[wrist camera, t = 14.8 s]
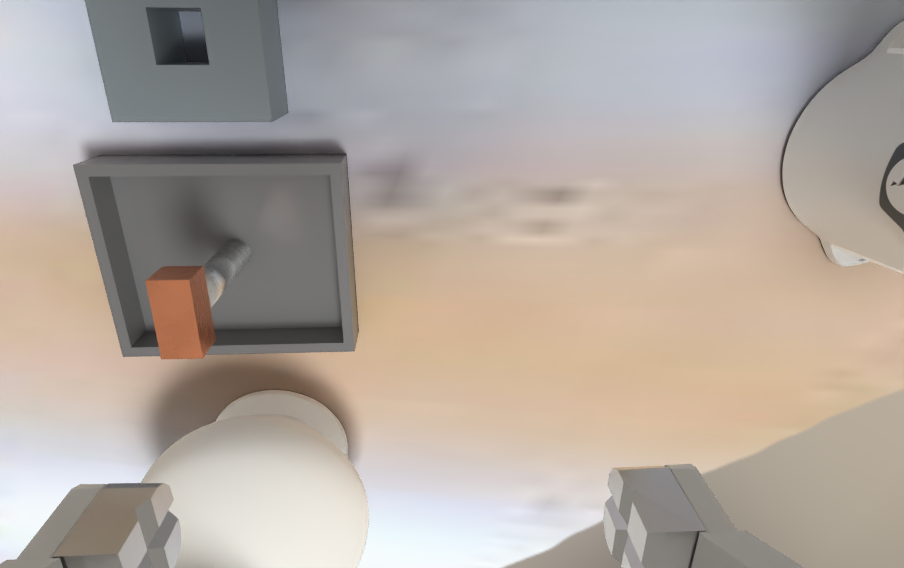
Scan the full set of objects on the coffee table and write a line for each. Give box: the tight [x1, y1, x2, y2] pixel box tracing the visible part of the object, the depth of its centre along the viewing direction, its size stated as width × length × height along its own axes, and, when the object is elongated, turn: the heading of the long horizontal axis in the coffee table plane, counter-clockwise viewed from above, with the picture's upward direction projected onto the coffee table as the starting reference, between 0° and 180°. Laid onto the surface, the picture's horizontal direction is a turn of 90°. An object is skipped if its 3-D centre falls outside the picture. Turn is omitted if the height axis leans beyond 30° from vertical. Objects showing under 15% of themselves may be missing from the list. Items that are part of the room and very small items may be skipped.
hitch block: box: [85, 0, 288, 122], centre depth 37 cm, size 10×10×5 cm
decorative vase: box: [141, 390, 369, 568], centre depth 41 cm, size 18×18×25 cm
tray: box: [73, 154, 359, 357], centre depth 43 cm, size 18×15×4 cm
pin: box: [145, 240, 252, 359], centre depth 38 cm, size 2×5×12 cm, turn 179°
